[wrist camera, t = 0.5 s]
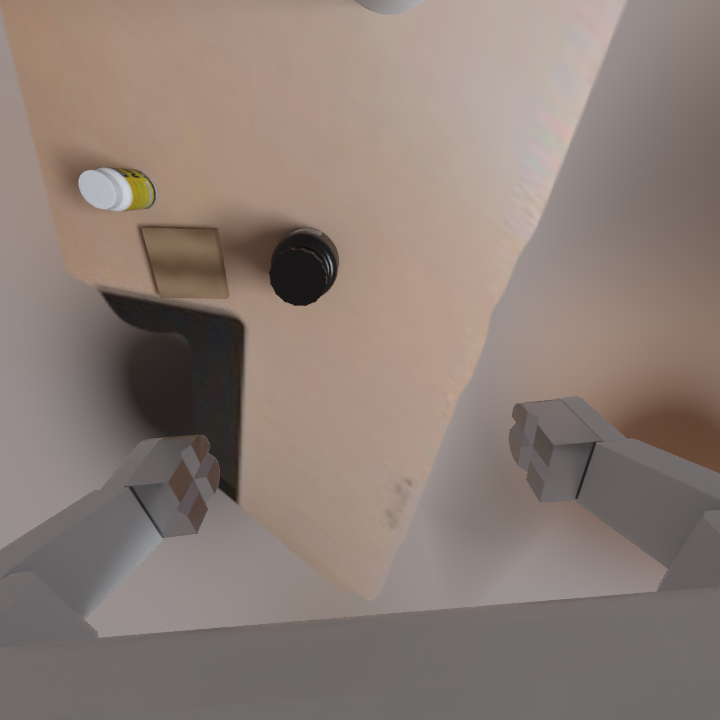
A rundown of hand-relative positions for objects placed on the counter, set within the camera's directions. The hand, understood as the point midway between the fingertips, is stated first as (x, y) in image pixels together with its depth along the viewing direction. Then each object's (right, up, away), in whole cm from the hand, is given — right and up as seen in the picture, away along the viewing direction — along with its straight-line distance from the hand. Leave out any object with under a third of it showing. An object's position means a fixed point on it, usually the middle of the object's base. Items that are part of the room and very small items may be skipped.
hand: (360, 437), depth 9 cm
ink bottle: (-8, +17, +40) cm, 45 cm away
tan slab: (-26, +17, +40) cm, 51 cm away
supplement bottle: (-30, +25, +35) cm, 53 cm away
